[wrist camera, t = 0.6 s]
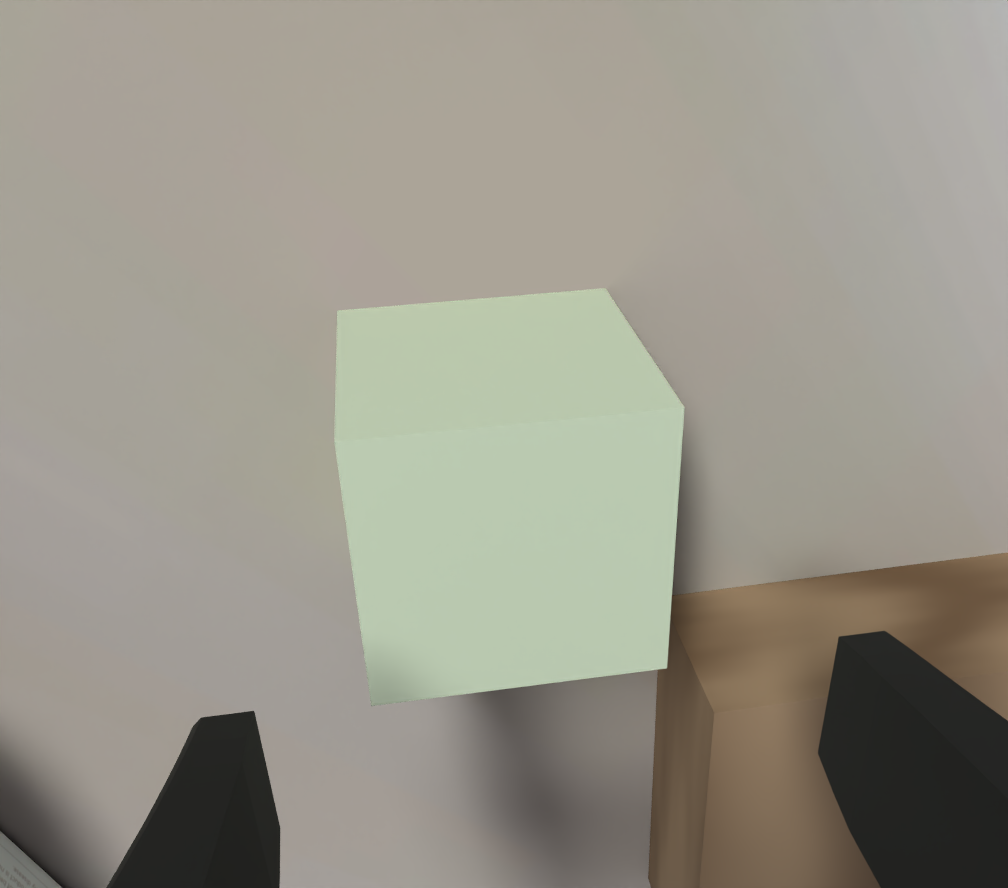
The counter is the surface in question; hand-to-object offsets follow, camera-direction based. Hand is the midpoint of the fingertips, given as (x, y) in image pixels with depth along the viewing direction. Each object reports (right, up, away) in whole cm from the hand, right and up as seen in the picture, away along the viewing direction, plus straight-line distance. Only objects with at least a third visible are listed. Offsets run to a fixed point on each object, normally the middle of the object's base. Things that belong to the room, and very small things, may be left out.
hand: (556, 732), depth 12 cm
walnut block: (+8, -4, +13) cm, 16 cm away
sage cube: (-1, +4, +7) cm, 8 cm away
